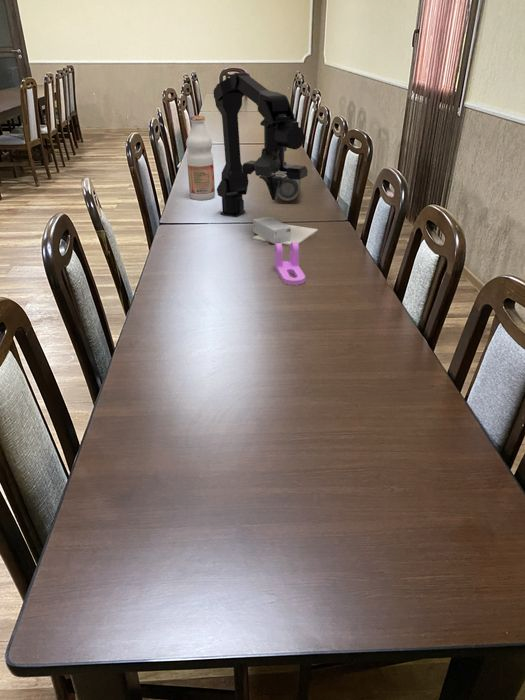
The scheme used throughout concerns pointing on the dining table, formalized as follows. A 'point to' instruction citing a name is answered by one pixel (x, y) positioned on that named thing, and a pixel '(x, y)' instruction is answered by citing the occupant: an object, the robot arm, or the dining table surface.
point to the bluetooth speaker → (289, 188)
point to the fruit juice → (200, 161)
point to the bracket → (288, 264)
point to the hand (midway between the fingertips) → (274, 199)
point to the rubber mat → (294, 234)
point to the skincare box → (271, 229)
